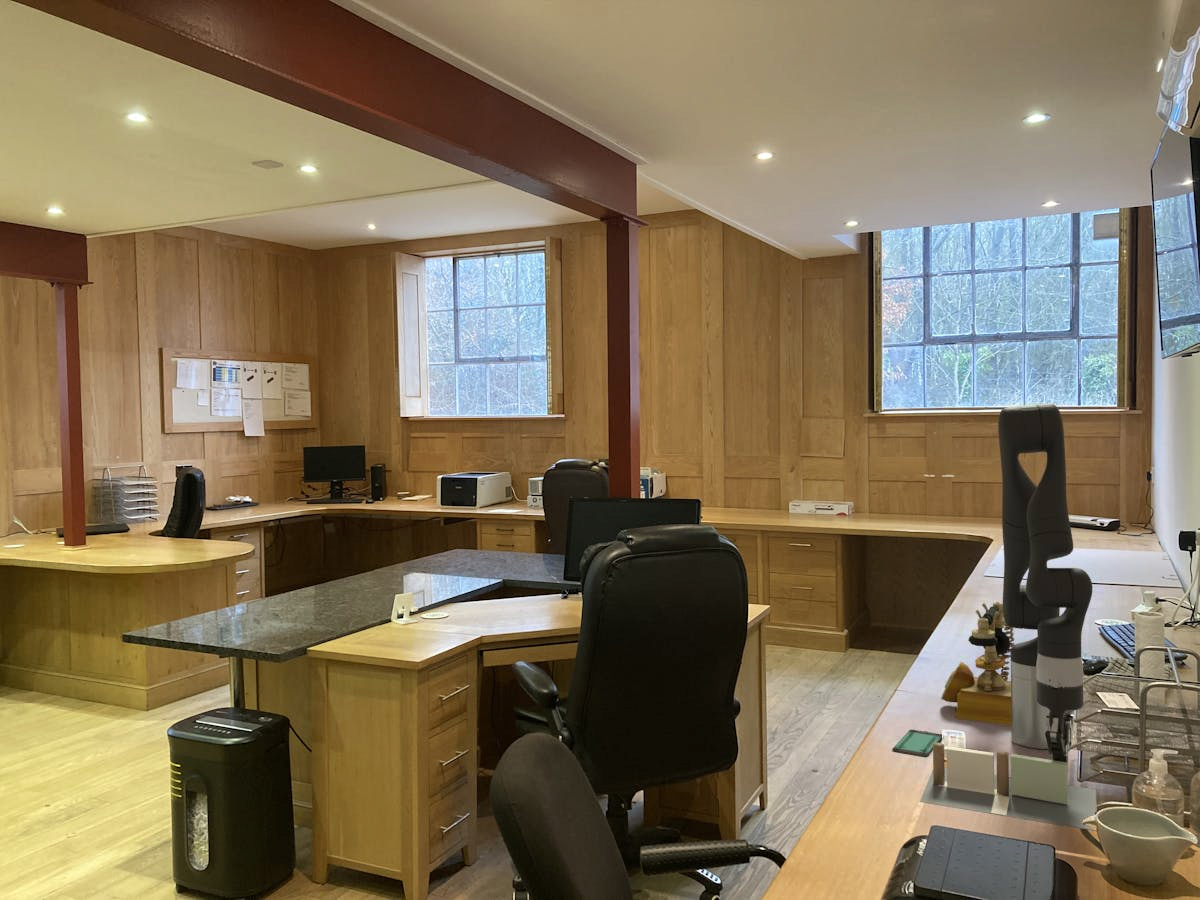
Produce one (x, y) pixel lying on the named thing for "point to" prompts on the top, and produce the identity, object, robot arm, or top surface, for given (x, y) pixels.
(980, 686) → the tan ornate piece
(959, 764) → the fence fixed section
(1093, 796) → the board
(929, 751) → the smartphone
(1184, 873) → the top surface
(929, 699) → the top surface
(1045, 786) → the fence gate panel
